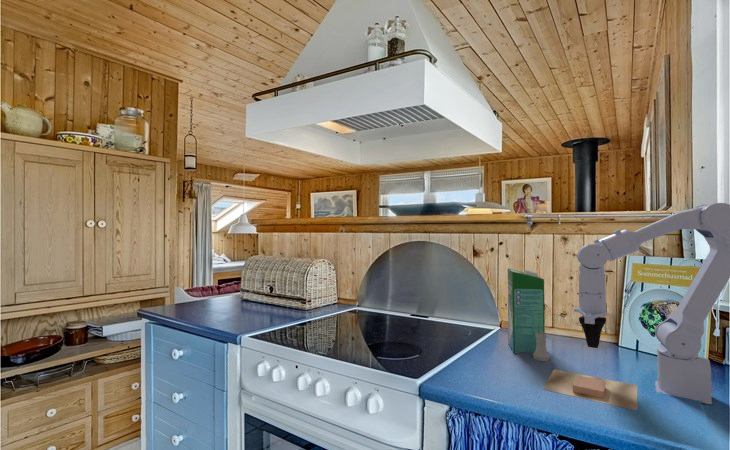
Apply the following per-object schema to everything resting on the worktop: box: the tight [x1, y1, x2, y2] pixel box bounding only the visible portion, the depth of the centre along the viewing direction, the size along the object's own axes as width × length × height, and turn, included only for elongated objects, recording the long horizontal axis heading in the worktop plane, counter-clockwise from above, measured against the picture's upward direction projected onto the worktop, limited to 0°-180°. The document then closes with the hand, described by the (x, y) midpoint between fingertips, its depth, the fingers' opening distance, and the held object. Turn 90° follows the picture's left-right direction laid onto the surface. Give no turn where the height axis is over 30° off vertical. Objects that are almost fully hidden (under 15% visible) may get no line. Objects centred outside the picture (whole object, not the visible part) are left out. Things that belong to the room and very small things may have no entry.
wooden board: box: [542, 368, 638, 411], centre depth 89 cm, size 18×15×1 cm
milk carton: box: [507, 267, 546, 354], centre depth 119 cm, size 9×9×25 cm
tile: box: [573, 375, 606, 398], centre depth 88 cm, size 6×2×7 cm
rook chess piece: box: [532, 331, 550, 362], centre depth 109 cm, size 4×4×8 cm
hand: (593, 346), depth 95 cm, fingers closed
